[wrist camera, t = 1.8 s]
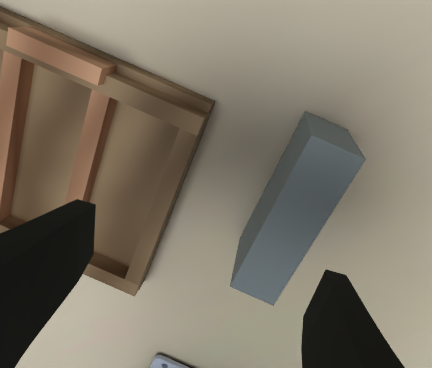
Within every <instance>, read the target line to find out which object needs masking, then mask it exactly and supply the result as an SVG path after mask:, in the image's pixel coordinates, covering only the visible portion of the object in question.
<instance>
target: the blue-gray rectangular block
mask: <svg viewBox="0 0 432 368" xmlns="http://www.w3.org/2000/svg"><path fill="white" fill-rule="evenodd" d="M364 161H365V157H364V156H363V154H362V153H361V151H360V149H359V148H358V146H357V144H356V143H355V141H354V140H353V138H352V136H351V135H350V133H349V132H348V130H347V129H345V128H342V127H340V126H338V125H336V124H333V123H331V122H329V121H326V120H324V119H322V118H320V117H317V116H315V115H313V114H311V113H308V112H306V111H305V113H304V115H303V116H302V118H301V120H300V122H299V124H298V126H297V128H296V130H295V132H294V134H293V136H292V138H291V140H290V142H289V144H288V146H287V148H286V149H285V151H284V153H283V155H282V157H281V159H280V161H279V163H278V165H277V167H276V169H275V171H274V173H273V175H272V177H271V179H270V181H269V182H268V184H267V186H266V188H265V190H264V192H263V194H262V196H261V198H260V200H259V202H258V204H257V206H256V208H255V210H254V212H253V214H252V216H251V217H250V219H249V221H248V223H247V225H246V227H245V229H244V231H243V233H242V235H241V237H240V240H239V245H238V250H237V255H236V259H235V264H234V269H233V274H232V279H231V284H230V287H232V288H234V289H237V290H239V291H241V292H244V293H246V294H248V295H250V296H253V297H255V298H257V299H259V300H262V301H264V302H266V303H269V304H271V305H274V304H275V302H276V301H277V299H278V297H279V296H280V294H281V293H282V291H283V289H284V288H285V286H286V285H287V283H288V282H289V280H290V278H291V277H292V275H293V274H294V272H295V270H296V269H297V267H298V266H299V264H300V262H301V261H302V259H303V258H304V256H305V255H306V253H307V251H308V250H309V248H310V247H311V245H312V243H313V242H314V240H315V239H316V237H317V235H318V234H319V232H320V231H321V229H322V228H323V226H324V224H325V223H326V221H327V220H328V218H329V216H330V215H331V213H332V212H333V210H334V208H335V207H336V205H337V204H338V202H339V201H340V199H341V197H342V196H343V194H344V193H345V191H346V189H347V188H348V186H349V185H350V183H351V182H352V180H353V178H354V177H355V175H356V174H357V172H358V170H359V169H360V167H361V166H362V164H363V162H364Z"/></svg>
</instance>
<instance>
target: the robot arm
mask: <svg viewBox="0 0 432 368" xmlns="http://www.w3.org/2000/svg"><path fill="white" fill-rule="evenodd" d="M95 212H96V204H93V203H89V202H86V201H82V200H79V199H76V200H74V201H72V202H69V203H67V204H65V205H63V206H60V207H58V208H56V209H54V210H52V211H50V212H48V213H45V214H43V215H41V216H39V217H37V218H35V219H32V220H30V221H28V222H26V223H23V224H21V225H19V226H17V227H15V228H12V229H10V230H7V231H5V232H2V233H0V368H15V366H16V365H17V363H18V361H19V360H20V358H21V357H22V355H23V354H24V353H25V351H26V350H27V348H28V347H29V345H30V344H31V343H32V341H33V340H34V339H35V337H36V336H37V335H38V333H39V332H40V331H41V330H42V328H43V327H44V326H45V324H46V323H47V322H48V320H49V319H50V318H51V317H52V315H53V314H54V313H55V311H56V310H57V309H58V307H59V306H60V305H61V304H62V302H63V301H64V300H65V298H66V297H67V296H68V294H69V293H70V292H71V290H72V289H73V288H74V286H75V285H76V284H77V282H78V281H79V279H80V277H81V276H82V274H83V272H84V271H85V269H86V267H87V265H88V264H89V262H90V260H91V258H92V256H93V255H94V233H95ZM302 367H303V368H405V367H404V366H403V365H402V363H401V362H400V360H399V359H398V358H397V356H396V355H395V353H394V352H393V350H392V349H391V347H390V346H389V344H388V343H387V341H386V340H385V338H384V337H383V335H382V334H381V332H380V330H379V329H378V327H377V326H376V324H375V322H374V321H373V319H372V318H371V316H370V314H369V313H368V311H367V309H366V308H365V306H364V304H363V303H362V301H361V299H360V298H359V296H358V294H357V292H356V291H355V289H354V287H353V286H352V284H351V282H350V281H349V279H348V277H347V276H346V275H344V274H340V273H336V272H333V271H329V270H325V272H324V274H323V276H322V278H321V281H320V283H319V285H318V287H317V289H316V291H315V293H314V295H313V297H312V299H311V301H310V304H309V306H308V308H307V310H306V312H305V314H304V317H303V330H302ZM149 368H189V367H187V366H185V365H183V364H180V363H178V362H176V361H173V360H171V359H169V358H167V357H164V356H162V355H156V356H155V357H154V359H153V361H152V363H151V365H150V367H149Z"/></svg>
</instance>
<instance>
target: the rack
mask: <svg viewBox="0 0 432 368" xmlns="http://www.w3.org/2000/svg"><path fill="white" fill-rule="evenodd" d="M214 103H215V101H213V100H211V99H208V98H206V97H204V96H201V95H199V94H197V93H195V92H192V91H190V90H188V89H186V88H183V87H181V86H179V85H177V84H174V83H172V82H170V81H167V80H165V79H163V78H161V77H158V76H156V75H154V74H152V73H149V72H147V71H145V70H143V69H140V68H138V67H136V66H133V65H131V64H129V63H127V62H124V61H122V60H120V59H118V58H115V57H113V56H111V55H109V54H106V53H104V52H102V51H100V50H97V49H95V48H93V47H90V46H88V45H86V44H84V43H81V42H79V41H77V40H75V39H72V38H70V37H68V36H66V35H63V34H61V33H59V32H56V31H54V30H52V29H50V28H47V27H45V26H43V25H41V24H38V23H36V22H34V21H32V20H29V19H27V18H25V17H23V16H20V15H18V14H16V13H13V12H11V11H9V10H7V9H4V8H2V7H0V233H2V232H5V231H7V230H10V229H12V228H15V227H17V226H19V225H21V224H23V223H26V222H28V221H30V220H32V219H35V218H37V217H39V216H41V215H43V214H45V213H48V212H50V211H52V210H54V209H56V208H58V207H60V206H63V205H65V204H67V203H69V202H72V201H74V200H76V199H79V200H82V201H86V202H89V203H93V204H96V212H95V233H94V255H93V256H92V258H91V260H90V262H89V264H88V265H87V267H86V269H85V271H84V272H83V274H85V275H87V276H89V277H92V278H94V279H96V280H98V281H101V282H103V283H105V284H107V285H110V286H112V287H114V288H117V289H119V290H121V291H123V292H126V293H128V294H130V295H133V296H135V295H136V293H137V291H138V290H139V289H140V287H141V285H142V284H143V282H144V280H145V277H146V275H147V272H148V270H149V267H150V265H151V262H152V259H153V257H154V254H155V252H156V249H157V247H158V244H159V242H160V239H161V237H162V234H163V232H164V229H165V227H166V224H167V222H168V219H169V216H170V214H171V211H172V209H173V206H174V204H175V201H176V199H177V196H178V194H179V191H180V189H181V186H182V184H183V181H184V179H185V176H186V174H187V171H188V168H189V166H190V163H191V161H192V158H193V156H194V153H195V151H196V148H197V146H198V143H199V141H200V138H201V136H202V133H203V131H204V128H205V125H206V123H207V120H208V118H209V115H210V113H211V110H212V108H213V105H214Z"/></svg>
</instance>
